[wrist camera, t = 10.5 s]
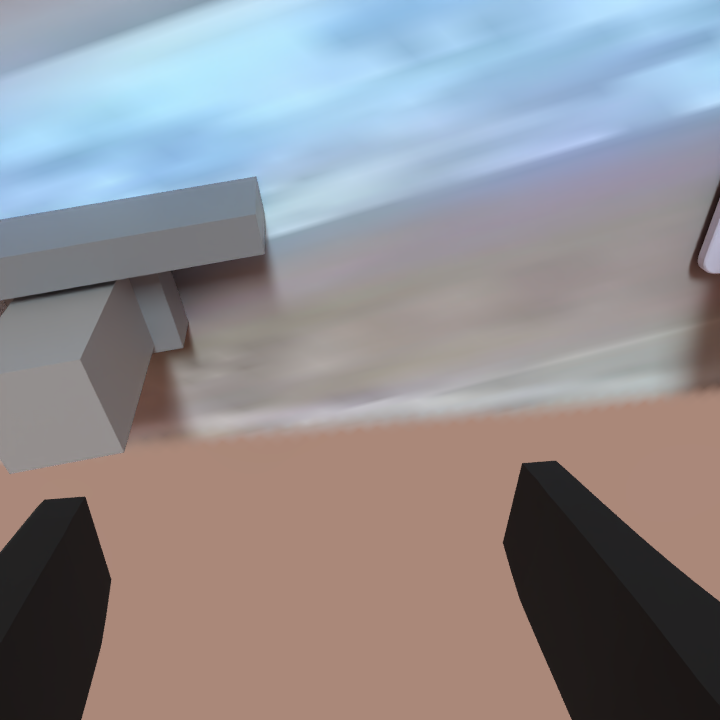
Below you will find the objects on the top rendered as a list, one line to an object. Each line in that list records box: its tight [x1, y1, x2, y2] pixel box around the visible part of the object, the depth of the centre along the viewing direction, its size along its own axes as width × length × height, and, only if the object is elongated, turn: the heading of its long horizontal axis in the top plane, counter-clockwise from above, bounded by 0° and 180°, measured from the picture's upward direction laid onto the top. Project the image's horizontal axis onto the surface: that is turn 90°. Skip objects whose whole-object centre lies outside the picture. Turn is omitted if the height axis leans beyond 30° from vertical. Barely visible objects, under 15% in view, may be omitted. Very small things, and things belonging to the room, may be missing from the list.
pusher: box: [0, 177, 265, 474], centre depth 15 cm, size 10×4×6 cm, turn 97°
